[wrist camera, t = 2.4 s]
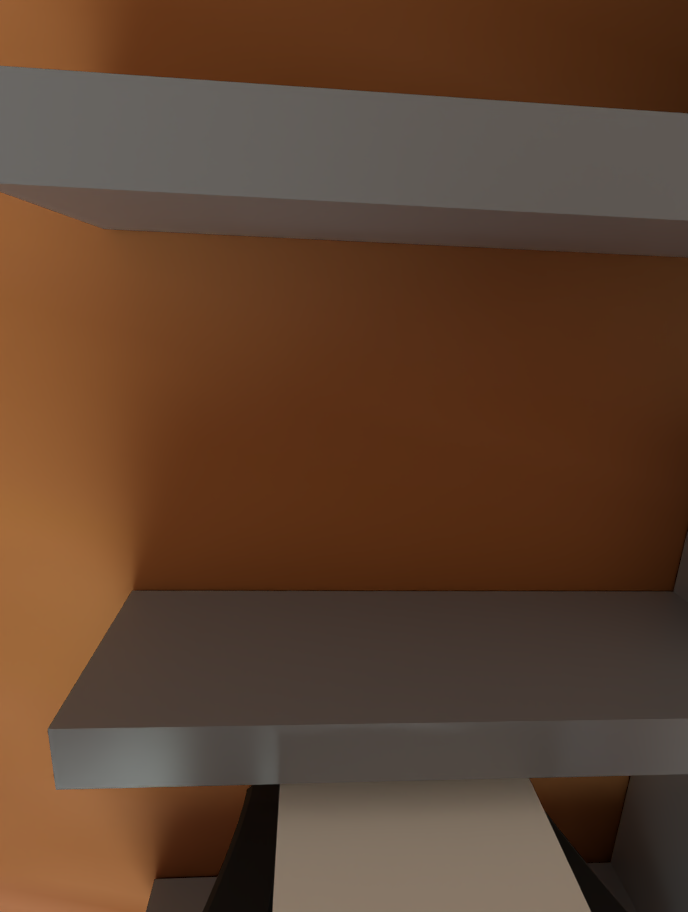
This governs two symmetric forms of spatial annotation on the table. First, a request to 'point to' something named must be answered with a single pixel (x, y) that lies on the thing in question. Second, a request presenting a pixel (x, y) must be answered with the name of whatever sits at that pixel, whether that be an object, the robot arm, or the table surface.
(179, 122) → the e-shaped shelf rack
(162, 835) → the table surface
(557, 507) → the table surface
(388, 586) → the table surface
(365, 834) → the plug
